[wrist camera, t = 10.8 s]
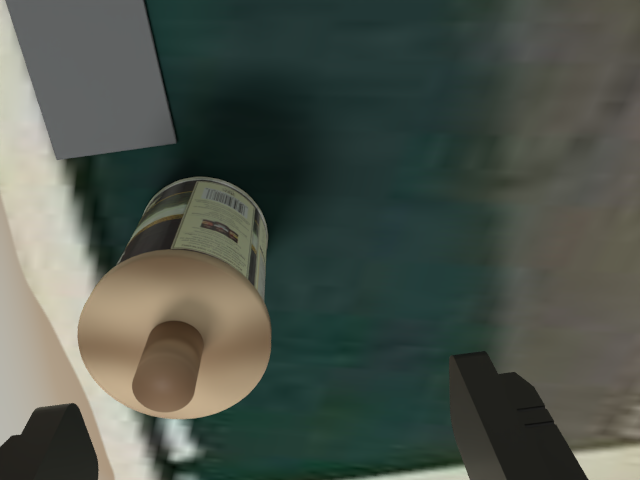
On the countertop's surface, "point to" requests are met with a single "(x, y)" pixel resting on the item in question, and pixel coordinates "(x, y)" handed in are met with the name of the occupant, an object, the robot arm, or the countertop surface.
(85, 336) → the lid
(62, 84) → the mat
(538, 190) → the countertop surface
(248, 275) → the coffee can
